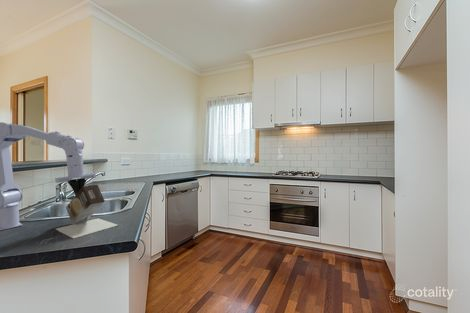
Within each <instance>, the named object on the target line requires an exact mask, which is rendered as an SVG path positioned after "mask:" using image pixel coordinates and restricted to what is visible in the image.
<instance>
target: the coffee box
mask: <svg viewBox="0 0 470 313" xmlns="http://www.w3.org/2000/svg"><path fill="white" fill-rule="evenodd" d="M104 203H105V198H104V196H103V193H102V192H101V189H100V188H99V185H98V184H89V185H84V186H83V187H82V188H81V189H80V190H79V192H78V193H77V194H76V195H75V194H74V196H73V198H72V199H71V200H70V201H69V203H68V204H67V205H66V206H65V209H66V211H67V215H68V217H69V219H70V222H71V225H73V224H77V223H81V222H85V221H89V219H90V218H91V217H92V216H93V215H94V214H95V213H96V212H97V211H98V209H99V208H100V207H101V206H102V205H103V204H104Z"/></svg>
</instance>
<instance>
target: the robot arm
mask: <svg viewBox="0 0 470 313" xmlns="http://www.w3.org/2000/svg"><path fill="white" fill-rule="evenodd" d="M27 137H33V138H36V139H40V140H44V141H45V142H46V144H47V145H49V146H53V147H56V148H59V149H62V150H63V151H64V152H65V153H64V154H65V158H66V167H67V169H66V170H67V175H66V176H63V177H62V176H61V177H55V178H54V179H55V183H56V184H57V183H59V184H60V183H65V182H67V183H68V185H69V187H70V188H71V189H72V191H73V193H74V196H75V195H76V194H77V193H78V192H79V190H80V189H81V188H82V187H83V186H86V185H85V184H86V182H87V180H88V179H95V178H97V176H96V173H85V169H84V168H85V167H84V159H83V149H84V147H85V143H84V141H83V140H82V139H80V138H78V137H76V138H73V137H72V136H71V135H68V134H67V135H65V134H62V133H61V132H60V131H51V132H46V131H43V130H40V129H37V128H34V127H32V126H28V125H23V124H15V123H6V122H2V121H0V231H3V230H8V229H13V228H17V227H21V226H23V223H21V222H20V211H19V210H20V208H19V205H20V203H21V201H22V200H23V198H24V194H23V191H22V190H21V188H20V185H19V184H17V183H15V180H14V173H13V172H14V170H13V164H12V163H13V162H12V156H11V149H10V147H11V146H12V145H14V143H17V142H19V141H22V140H23V139H25V138H27Z"/></svg>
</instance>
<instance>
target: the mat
mask: <svg viewBox="0 0 470 313" xmlns="http://www.w3.org/2000/svg"><path fill="white" fill-rule="evenodd" d="M118 226H119V224H117V223H113V222H111V221H107V220H104V219H101V218H94V219H90V220H89V219H88V220H87V221H84V222H81V223H77V224H70V225H66V226H61V227H58V228H55V230H56V231H58V232H59V233H61V234H63V235H65V236H68V237H70V239H71V238H72V239H78V238H81V237H84V236H89V235H91V234H92V235H93V234H95V233H98V232H101V231H106V230H108V229H112V228H115V227H118Z"/></svg>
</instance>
